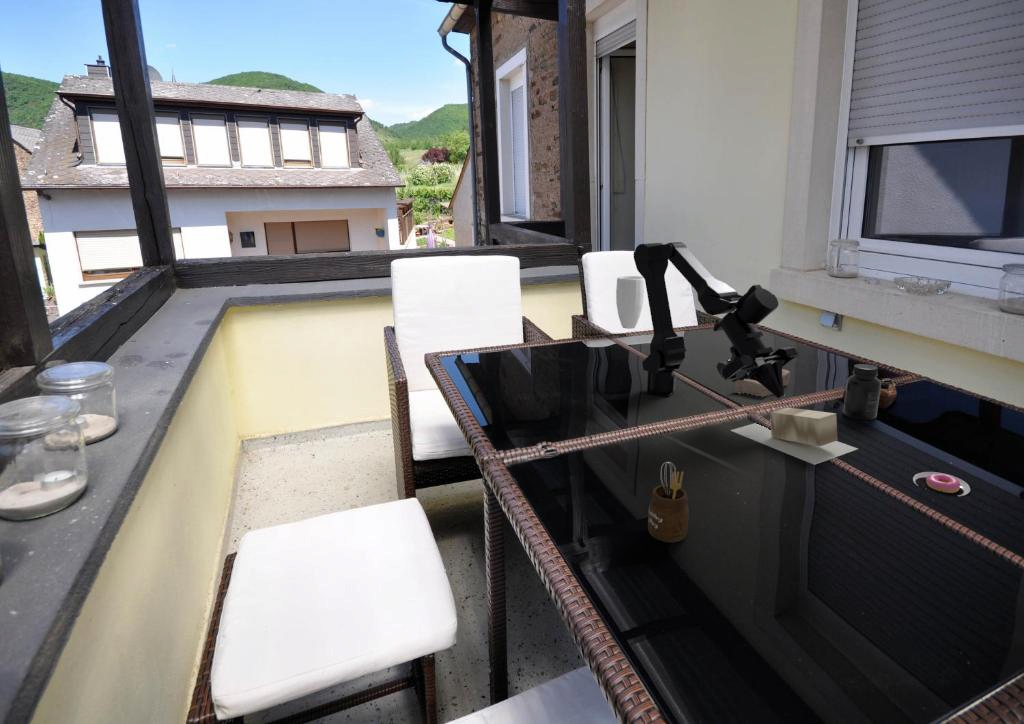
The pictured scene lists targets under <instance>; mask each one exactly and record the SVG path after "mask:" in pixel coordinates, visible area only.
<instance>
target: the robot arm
mask: <svg viewBox="0 0 1024 724" xmlns="http://www.w3.org/2000/svg"><path fill="white" fill-rule="evenodd" d="M633 260H634V263H635V266H636V270H637V271H638V273H639V275H640V276H641V277H643V278H644V284H645V289H646V294H647V299H648V301H647V302H648V305H649V312H650V318H651V325H652V329H653V335H652V339H651V342H650V344H649V355H648V356H647V357H645V359H643V360H642V361H641V363H642V368H643V369H642V370H643V371H646V372H647V381H646V382H647V383H646V387H647V388H646V389H645V391H644V394H649V395H656V396H664V397H670V396H671V395H672V394H673V393H674V392H675V391H676V385H677V384H676V383H677V375H676V374H675V370H679V369H680V367H681V365H682V362H683V361H684V359H686V352H687V349H686V346H685V337H684V336H683V335H680V336H679V335H678V334H677V333H676V332H675V330H674V325H673V319H672V313H671V307H670V301H669V296H668V295H669V294H668V291H667V286H666V285H667V284H666V278H665V276H666V272H667V270H668V266H669V262H670V263H671V264H672V265H673V267H674V268H676V270H677V271H678V272H679V273H680V274H681V276H683V278H684V279H685V280H686V281H687V282H688V283H689V285H691V286H692V288H693V289H694V290H695V291H696V295H697V301H698V302H699V304H700V306H701V308H702V309H703V310H704V312H705V313H706V314H707V315H709V316H718V315H724V316H723V317H722V318H717V319H715V323H714V325H713V329H712V330H713V332H718V331H719V332H720V331H723V333H724V334H725V336H726V337H727V340H729V342H730V343H731V344H730V345H732V346H730V347H729V349H730V350H729V352H730V353H731V358H730V359H727V360H726V361H719V362H718V363H717V365H716V370H717V372H718V373H719V375H720V376H721V378H722V379H724V381H725V382H727V381H731V382H732V383H736V381H738V380H744V379H750V380H755V381H758V382H759V383H760V384H762V385H763V386H764V387H765V388H767V389H768V390H769V391H770V392H771V393H773V396H774V397H776V398H778V399H782V398H783V397H784V396H785V392H784V388H783V379H782V369H783V368H784V367H785V366H787V365H788V364H790V363H791V362H793V360H795V359H796V358H797V357H798V356H800V355H799V353H798V351H797V350H796V349H795V347H793V346H786V347H780V348H778V349H776V350H775V351H774V349H773V348H772V347H771V346H768V347H767V346H766V345H765V343H764V341H763V340H762V337H763V336H764V334H763V333H762V331H756V329H755V328H754V327H753V325H758V324H760V323H761V322H763V320H765V319H766V318H767V317H768V316H769V315H771V314H772V313H773V312H774V311H775V310H777V309H778V307H779V300H778V298H777V297H776V295H775V294H773V293H772V292H770V291H769V290H767V289H766V288H763V287H762V285H761V284H753V285H751V286H750V287H749V289H748V290H747V292H746V293H744V294H743V295H741V294H739V293H738V292H737V290H736V289H734V288H732V287H731V286H730V285H729V284H727V282H723V281H721V280H719V279H717V278H716V277H714V276H713V275H712V274H711V273H710V272H709V271H708V270H707V269H706V268H705V267H704V265H702V263H701V262H700V261H699V260H698V259H697V257H696V256H694V254H693V253H692V252H691V251H690V250H689V249H688V248H687V245H686V244H685V243H684V242H682V241H679V242H678V241H675V242H673V241H672V242H667V243H666V244H665V243H664V244H663V243H661V242H653V243H652V242H650V243H641V244H640V243H639V244H638V245H637V246H636V247H635V250H634V251H633Z"/></svg>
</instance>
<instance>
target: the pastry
mask: <svg viewBox="0 0 1024 724" xmlns="http://www.w3.org/2000/svg"><path fill="white" fill-rule="evenodd" d="M879 380H880V382H881V390H880V397H879V404H878V409H883V410H885V409H887V408H888V407H890V406H891V405H892V404H893V403H894V401H895V399H896V397H897V395H898V393H897V390H896V389H897V388H896V386H894V385H892V384H889V383H888V382H885V381H882V380H881V379H879ZM845 393H846V387H845V389H844V391H843V393H842V397H841V398H840V400H842V399H843V400H842V401H843V402H844V401H845Z"/></svg>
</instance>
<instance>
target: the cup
mask: <svg viewBox="0 0 1024 724" xmlns="http://www.w3.org/2000/svg"><path fill="white" fill-rule="evenodd" d="M615 290H616V291H615V293H616V294H615V295H616V297H615V299H616V301H615V302H616V303H615V304H616V310H617V315H618V319H619V321H620V325H621V328H623V329H628V330H633V329H635V328H636V327H637V324H638V322H639V319H640V316H641V314H642V313H641V312H642V310H643V309H642V308H643V305H644V297H645V295H644V294H645V279H644V278H643V277H642V276H638V275H637V276H636V275H623V276H622V275H621V276H618V277H617V278H616V287H615Z"/></svg>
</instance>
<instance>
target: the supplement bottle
mask: <svg viewBox="0 0 1024 724" xmlns="http://www.w3.org/2000/svg"><path fill="white" fill-rule="evenodd" d="M878 373H879V367H878V366H876V365H871V364H867V363H865V364H864V363H857V364H854V365H853V370H852V374H853V375H850V376H849V377H848V378H847V380H846V387H845V388H846V393H845V401H843V402H844V403H843V410H842V411H843V414H844V415H845V416H846V417H847V418H850V419H853V420H857V421H871V420H872V421H873V420H875V419H876V418H877V415H878V410H879V408H878V404H879V397H880V390H881V382H882V381H881V382H880V380H881V379H879V378H878Z"/></svg>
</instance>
